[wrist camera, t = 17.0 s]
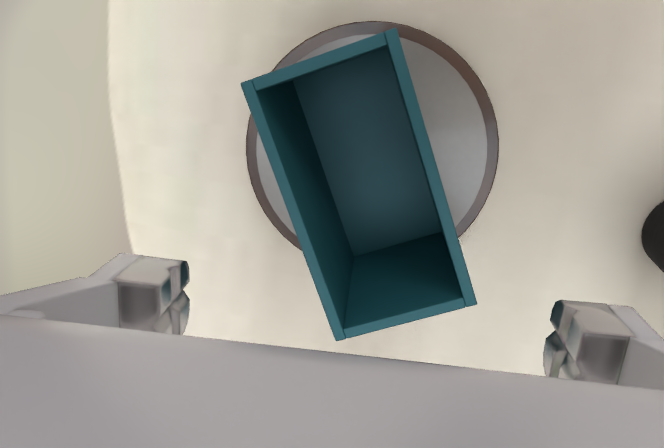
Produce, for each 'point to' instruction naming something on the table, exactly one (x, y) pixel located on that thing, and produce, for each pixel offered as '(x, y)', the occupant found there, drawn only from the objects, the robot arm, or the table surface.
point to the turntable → (437, 111)
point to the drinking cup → (655, 236)
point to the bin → (362, 185)
